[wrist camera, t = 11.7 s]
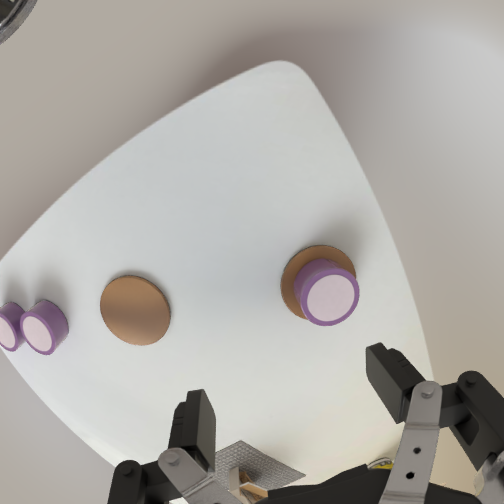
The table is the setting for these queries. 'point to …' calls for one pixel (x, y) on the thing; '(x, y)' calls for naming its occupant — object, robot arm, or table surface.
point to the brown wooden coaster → (135, 310)
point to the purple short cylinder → (326, 292)
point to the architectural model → (250, 472)
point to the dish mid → (44, 327)
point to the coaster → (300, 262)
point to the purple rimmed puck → (11, 326)
